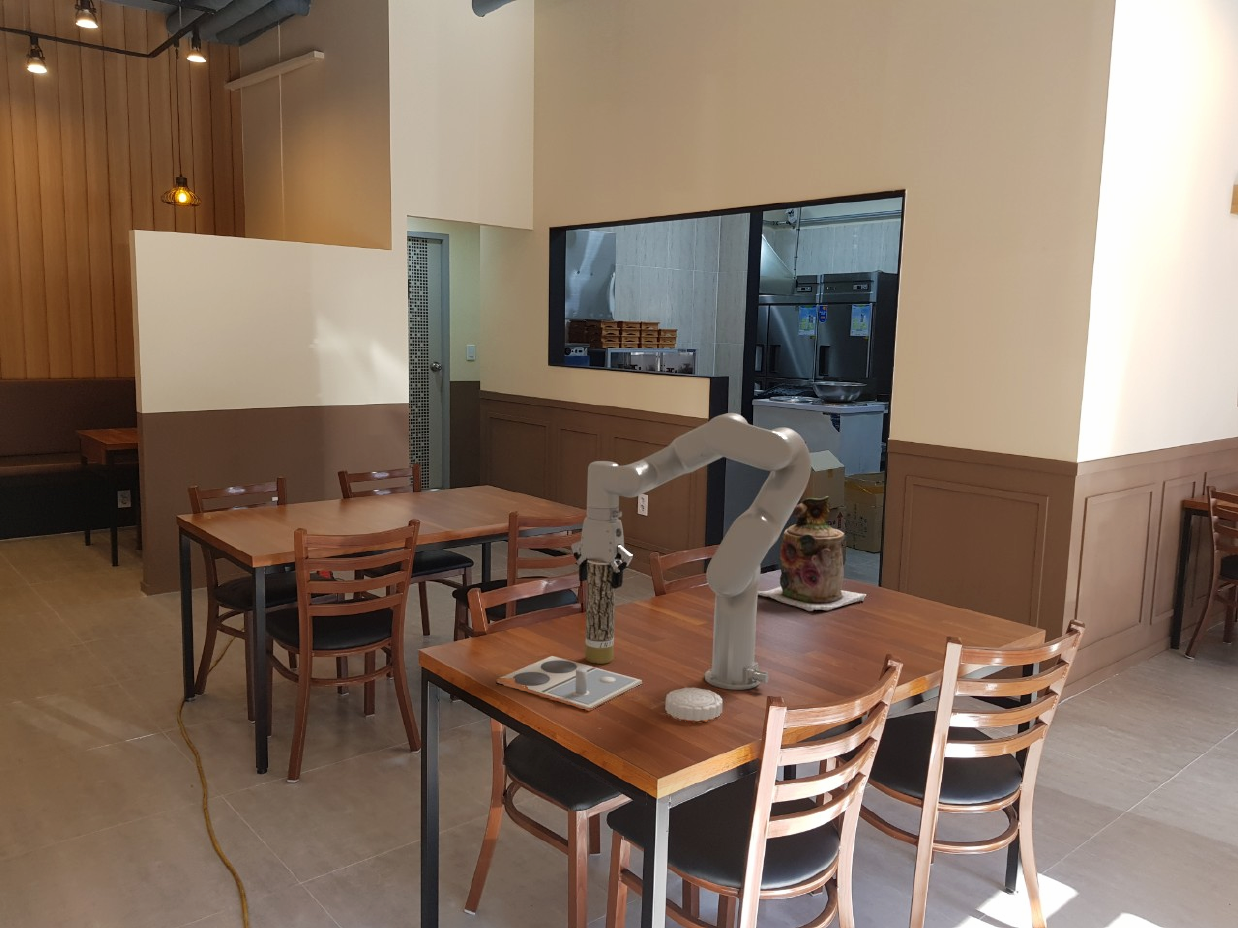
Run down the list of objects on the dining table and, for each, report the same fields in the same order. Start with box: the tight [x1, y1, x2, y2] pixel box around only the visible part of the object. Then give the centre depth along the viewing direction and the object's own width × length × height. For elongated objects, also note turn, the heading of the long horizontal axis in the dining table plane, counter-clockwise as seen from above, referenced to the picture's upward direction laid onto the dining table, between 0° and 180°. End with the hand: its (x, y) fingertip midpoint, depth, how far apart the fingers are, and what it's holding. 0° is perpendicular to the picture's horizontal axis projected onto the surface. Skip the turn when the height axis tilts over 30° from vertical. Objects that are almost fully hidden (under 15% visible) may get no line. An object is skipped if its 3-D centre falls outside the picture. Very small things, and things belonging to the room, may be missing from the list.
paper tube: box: [584, 559, 616, 665], centre depth 231 cm, size 7×7×25 cm
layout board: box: [499, 655, 643, 708], centre depth 216 cm, size 26×20×6 cm
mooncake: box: [664, 686, 723, 721], centre depth 202 cm, size 12×12×4 cm
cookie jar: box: [758, 495, 867, 612], centre depth 289 cm, size 25×25×32 cm
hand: (600, 583), depth 230 cm, fingers open, 9 cm apart
